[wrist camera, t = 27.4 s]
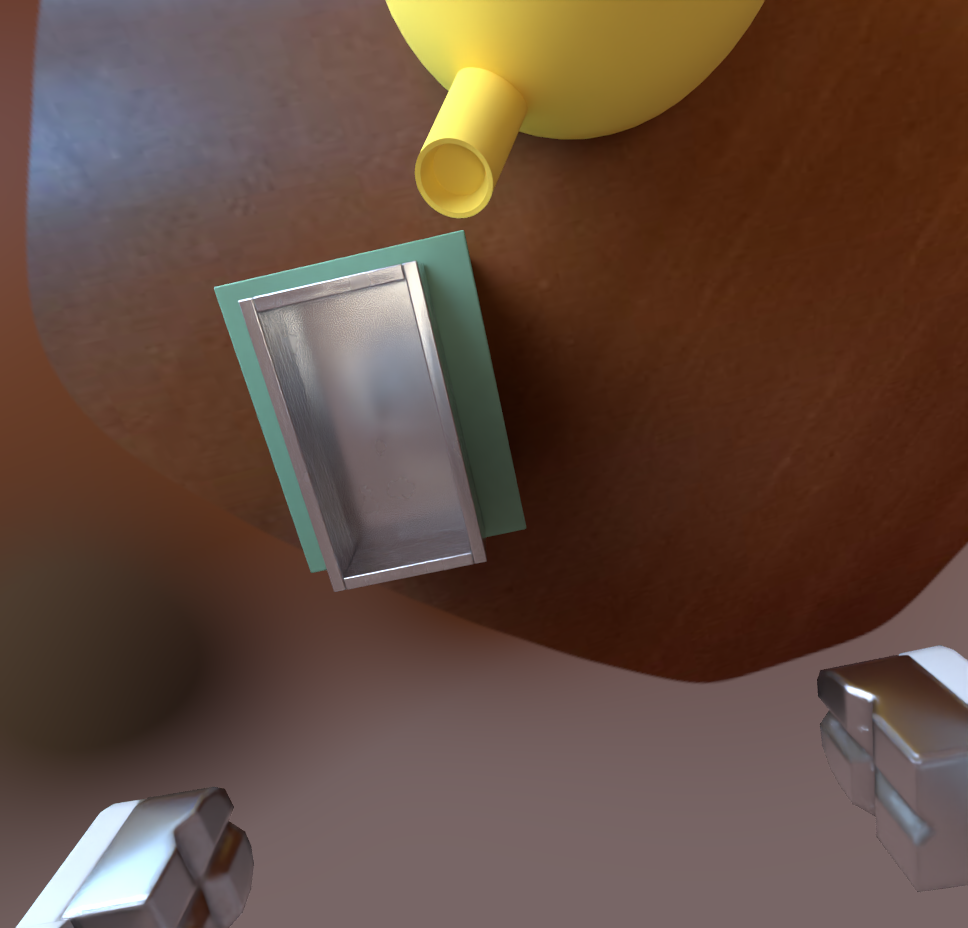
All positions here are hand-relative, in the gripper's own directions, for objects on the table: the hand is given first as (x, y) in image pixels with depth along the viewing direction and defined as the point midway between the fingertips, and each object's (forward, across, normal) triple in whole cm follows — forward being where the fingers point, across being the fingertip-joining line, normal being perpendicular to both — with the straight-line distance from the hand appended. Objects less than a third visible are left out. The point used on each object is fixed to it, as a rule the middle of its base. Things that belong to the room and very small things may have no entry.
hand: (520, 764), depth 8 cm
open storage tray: (+16, +4, -2) cm, 17 cm away
